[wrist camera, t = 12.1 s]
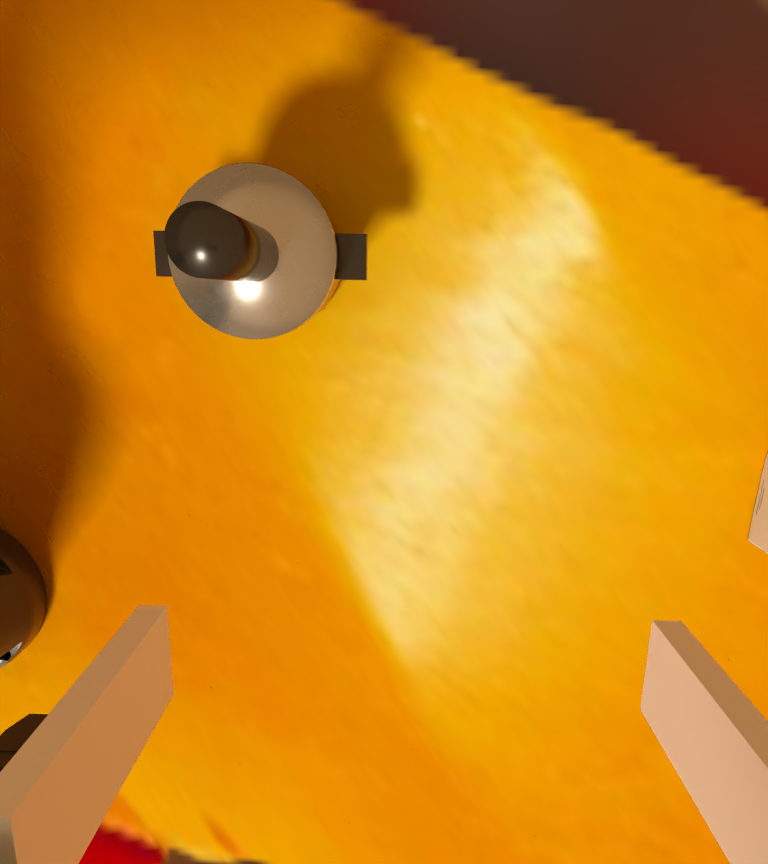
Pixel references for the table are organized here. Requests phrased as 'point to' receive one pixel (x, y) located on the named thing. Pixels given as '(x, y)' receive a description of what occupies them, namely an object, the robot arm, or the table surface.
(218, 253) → the lid
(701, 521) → the table surface
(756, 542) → the ink box
